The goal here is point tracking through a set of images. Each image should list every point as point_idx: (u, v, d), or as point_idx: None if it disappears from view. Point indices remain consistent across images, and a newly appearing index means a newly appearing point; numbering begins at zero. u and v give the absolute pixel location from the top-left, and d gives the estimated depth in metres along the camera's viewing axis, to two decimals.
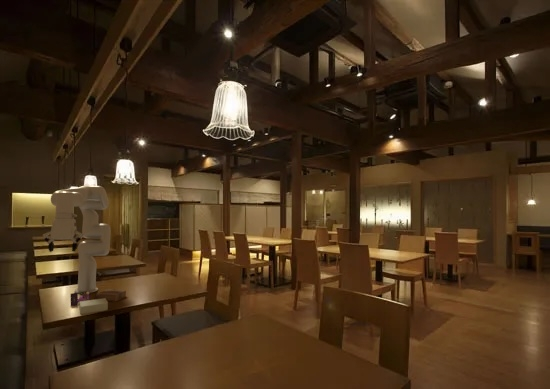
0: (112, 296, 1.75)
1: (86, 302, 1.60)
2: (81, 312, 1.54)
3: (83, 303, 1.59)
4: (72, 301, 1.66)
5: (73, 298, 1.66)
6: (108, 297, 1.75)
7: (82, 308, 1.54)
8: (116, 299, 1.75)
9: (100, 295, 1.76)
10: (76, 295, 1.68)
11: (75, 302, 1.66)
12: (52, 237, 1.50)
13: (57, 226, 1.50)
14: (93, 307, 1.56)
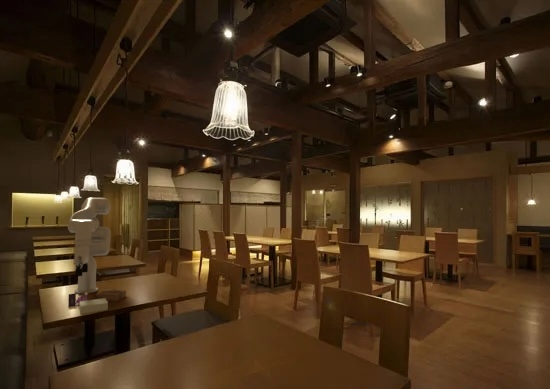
0: (112, 296, 1.75)
1: (86, 302, 1.60)
2: (81, 312, 1.54)
3: (83, 303, 1.59)
4: (70, 302, 1.64)
5: (71, 299, 1.65)
6: (108, 297, 1.75)
7: (82, 308, 1.54)
8: (116, 299, 1.76)
9: (100, 295, 1.75)
10: (74, 296, 1.66)
11: (73, 303, 1.65)
12: (84, 262, 1.67)
13: (86, 252, 1.69)
14: (93, 307, 1.56)
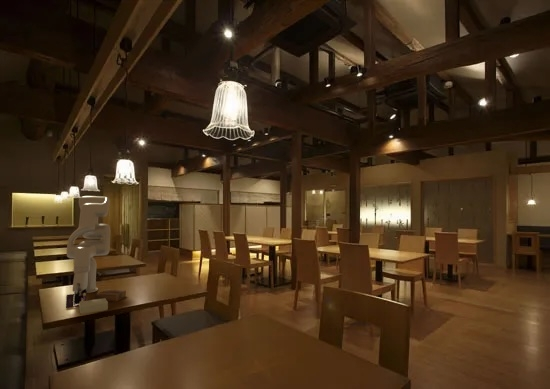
0: (113, 296, 1.75)
1: (86, 302, 1.60)
2: (81, 312, 1.54)
3: (83, 303, 1.59)
4: (68, 302, 1.63)
5: (69, 299, 1.64)
6: (108, 297, 1.75)
7: (82, 308, 1.54)
8: (117, 299, 1.76)
9: (100, 295, 1.75)
10: (72, 296, 1.65)
11: (71, 303, 1.64)
12: (82, 289, 1.66)
13: (85, 278, 1.69)
14: (93, 307, 1.56)
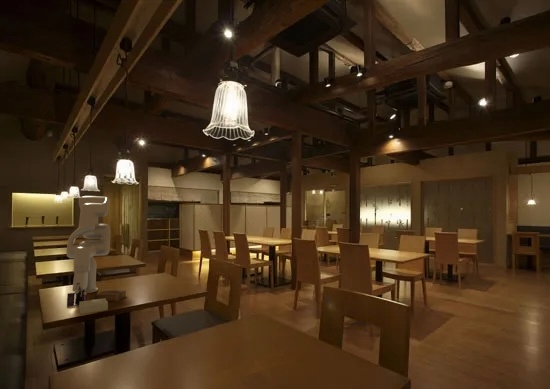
0: (113, 296, 1.75)
1: (86, 302, 1.60)
2: (81, 312, 1.53)
3: (83, 303, 1.59)
4: (68, 301, 1.65)
5: (70, 298, 1.66)
6: (108, 297, 1.75)
7: (82, 308, 1.54)
8: (117, 299, 1.76)
9: (100, 295, 1.75)
10: (73, 295, 1.67)
11: (72, 302, 1.66)
12: (82, 289, 1.66)
13: (85, 278, 1.68)
14: (93, 307, 1.56)
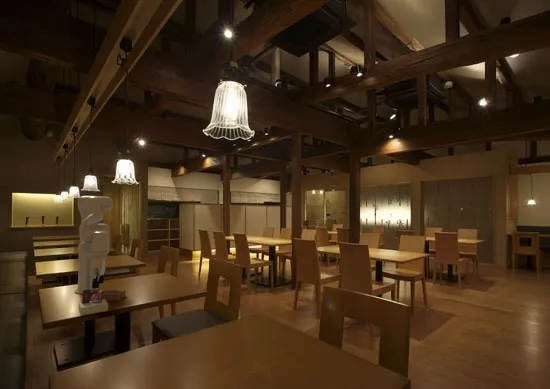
0: (114, 296, 1.75)
1: None
2: (81, 313, 1.52)
3: (83, 304, 1.57)
4: (84, 298, 1.59)
5: (85, 295, 1.60)
6: (109, 297, 1.75)
7: (82, 309, 1.52)
8: (118, 299, 1.76)
9: None
10: (89, 292, 1.61)
11: (87, 299, 1.59)
12: (100, 274, 1.63)
13: (103, 263, 1.66)
14: (93, 308, 1.55)
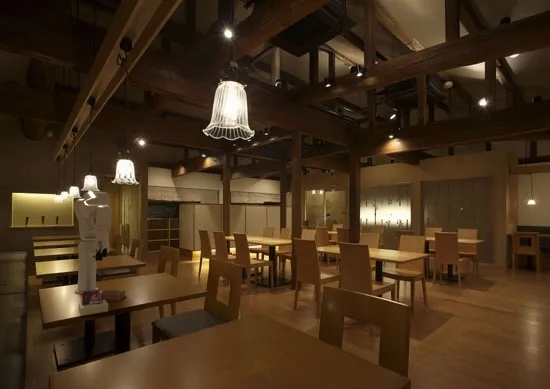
0: (114, 296, 1.76)
1: None
2: (81, 314, 1.51)
3: (83, 305, 1.56)
4: (84, 299, 1.57)
5: (85, 296, 1.58)
6: (110, 297, 1.75)
7: (82, 310, 1.51)
8: (118, 298, 1.77)
9: None
10: (88, 293, 1.59)
11: (87, 300, 1.57)
12: (104, 247, 1.69)
13: (106, 237, 1.71)
14: (93, 309, 1.54)
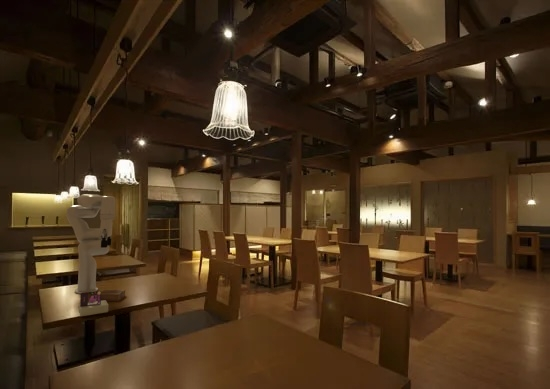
0: (115, 296, 1.76)
1: None
2: (81, 314, 1.50)
3: None
4: (82, 301, 1.55)
5: (83, 298, 1.55)
6: (110, 297, 1.75)
7: (82, 310, 1.51)
8: (119, 298, 1.77)
9: (101, 295, 1.75)
10: (87, 295, 1.56)
11: (85, 302, 1.55)
12: (108, 235, 1.77)
13: (110, 225, 1.80)
14: (93, 309, 1.53)
